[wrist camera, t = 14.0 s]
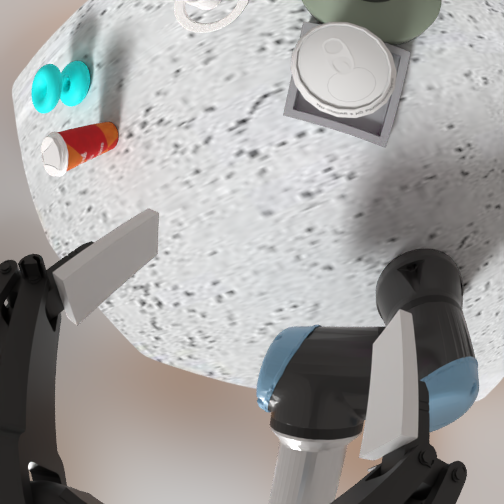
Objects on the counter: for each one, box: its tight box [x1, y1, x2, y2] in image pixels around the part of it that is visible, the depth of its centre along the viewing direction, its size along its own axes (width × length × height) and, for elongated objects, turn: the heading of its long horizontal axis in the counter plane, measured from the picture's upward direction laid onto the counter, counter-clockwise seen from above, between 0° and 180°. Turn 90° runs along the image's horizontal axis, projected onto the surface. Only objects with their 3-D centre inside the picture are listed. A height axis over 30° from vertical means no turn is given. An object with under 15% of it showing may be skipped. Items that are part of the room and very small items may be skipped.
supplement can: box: [291, 22, 397, 118], centre depth 21 cm, size 8×8×15 cm
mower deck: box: [283, 0, 441, 148], centre depth 19 cm, size 18×30×9 cm, turn 169°
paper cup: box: [41, 122, 118, 176], centre depth 38 cm, size 8×8×14 cm
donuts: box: [32, 61, 90, 113], centre depth 35 cm, size 10×10×10 cm
